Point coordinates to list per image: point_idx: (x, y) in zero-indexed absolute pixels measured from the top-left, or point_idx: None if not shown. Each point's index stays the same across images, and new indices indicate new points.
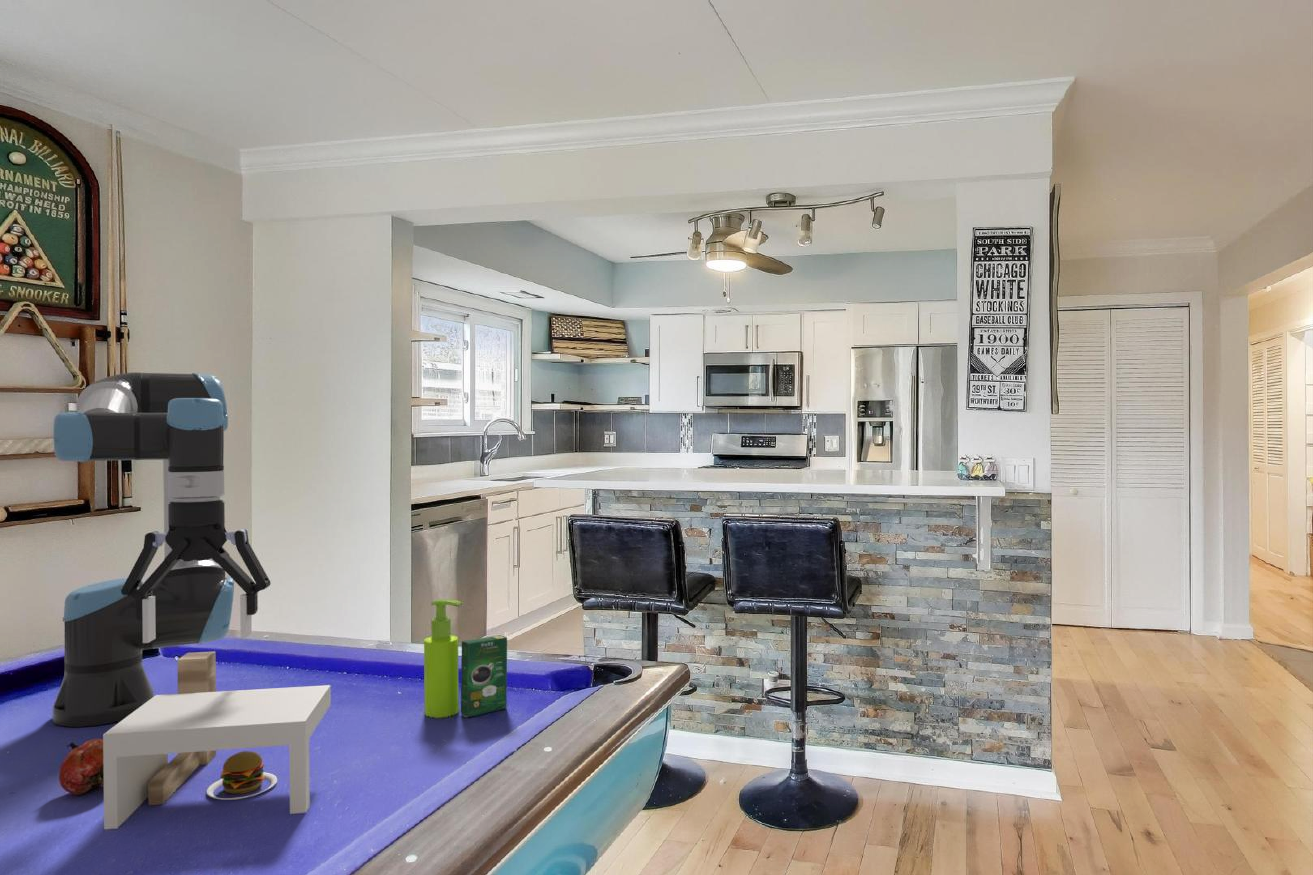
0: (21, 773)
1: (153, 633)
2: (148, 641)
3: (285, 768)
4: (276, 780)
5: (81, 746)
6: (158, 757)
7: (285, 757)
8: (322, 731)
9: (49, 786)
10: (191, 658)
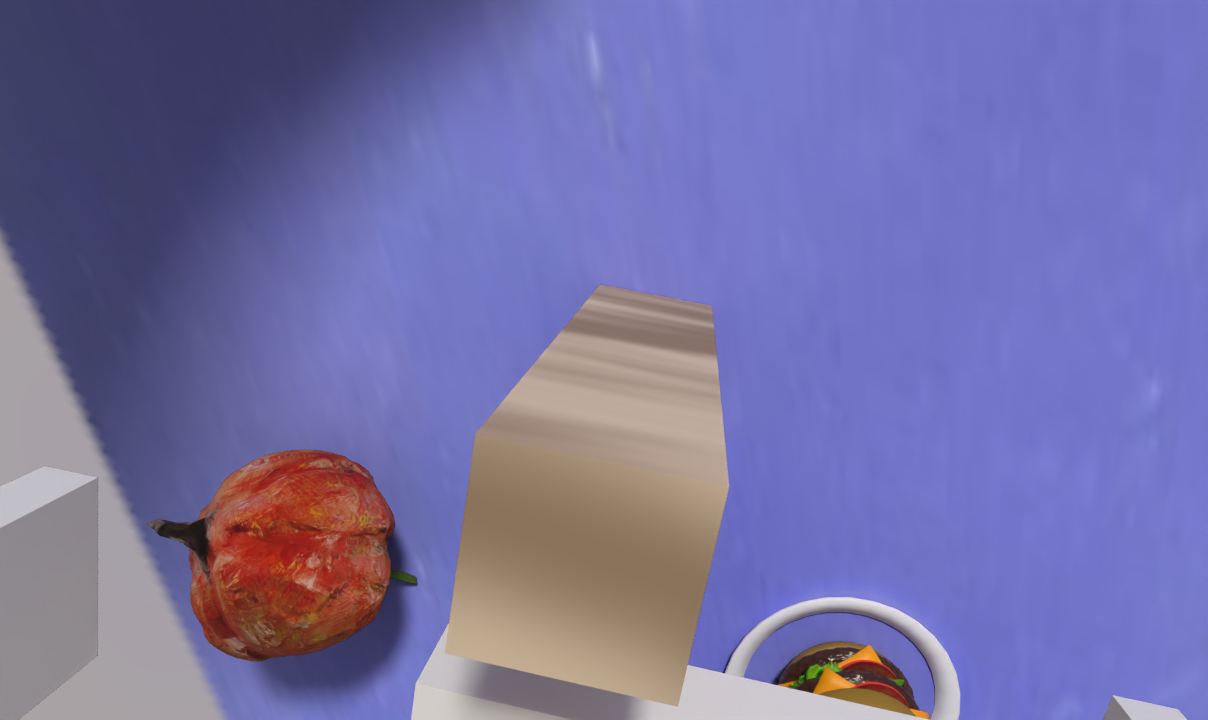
0: (26, 232)
1: (40, 568)
2: (88, 659)
3: (992, 579)
4: (957, 714)
5: (217, 602)
6: None
7: (999, 459)
8: (1205, 164)
9: (183, 412)
10: (552, 658)
